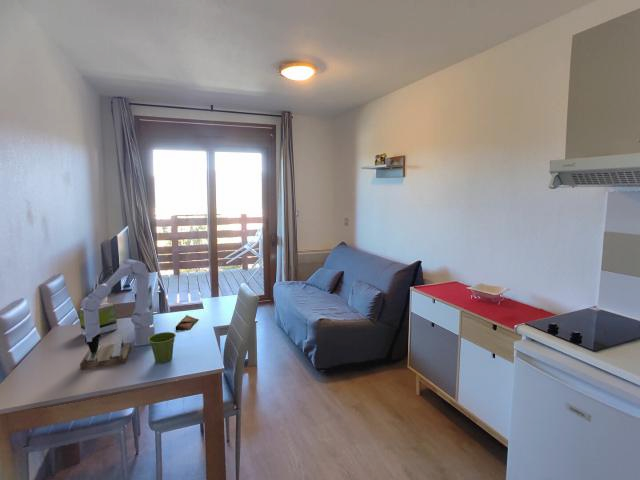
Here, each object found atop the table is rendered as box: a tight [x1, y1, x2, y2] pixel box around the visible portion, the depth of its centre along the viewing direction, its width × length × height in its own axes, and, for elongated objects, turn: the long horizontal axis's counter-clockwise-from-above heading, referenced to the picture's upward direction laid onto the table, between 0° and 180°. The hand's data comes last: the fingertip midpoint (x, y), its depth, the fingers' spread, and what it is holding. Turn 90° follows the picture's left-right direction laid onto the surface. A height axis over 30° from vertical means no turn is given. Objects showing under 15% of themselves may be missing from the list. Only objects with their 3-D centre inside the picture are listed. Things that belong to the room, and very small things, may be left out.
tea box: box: [78, 301, 118, 335], centre depth 202 cm, size 15×10×15 cm, turn 144°
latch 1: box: [87, 344, 102, 361], centre depth 167 cm, size 3×13×1 cm, turn 20°
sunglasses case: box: [175, 314, 199, 331], centre depth 212 cm, size 18×7×7 cm
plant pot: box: [148, 331, 177, 364], centre depth 167 cm, size 12×12×11 cm
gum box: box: [134, 284, 154, 325], centre depth 207 cm, size 20×5×23 cm, turn 13°
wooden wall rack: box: [79, 341, 133, 371], centre depth 170 cm, size 18×18×5 cm
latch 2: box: [112, 334, 124, 358], centre depth 169 cm, size 3×13×1 cm, turn 20°
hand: (94, 350), depth 168 cm, fingers open, 2 cm apart
